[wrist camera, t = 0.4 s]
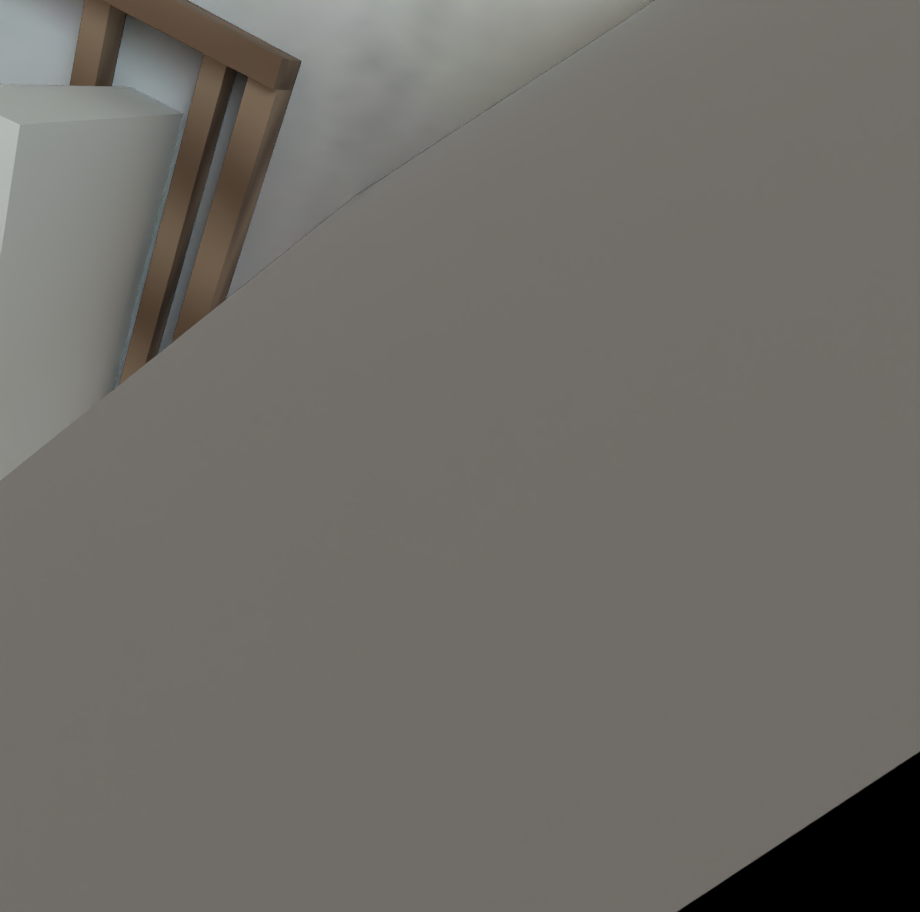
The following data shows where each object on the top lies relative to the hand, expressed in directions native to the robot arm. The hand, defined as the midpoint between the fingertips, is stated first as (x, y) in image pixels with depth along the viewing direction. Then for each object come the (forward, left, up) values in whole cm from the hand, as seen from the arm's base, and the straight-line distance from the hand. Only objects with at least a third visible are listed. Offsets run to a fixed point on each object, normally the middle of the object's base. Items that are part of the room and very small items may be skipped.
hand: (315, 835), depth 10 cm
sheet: (+3, -13, -22) cm, 25 cm away
